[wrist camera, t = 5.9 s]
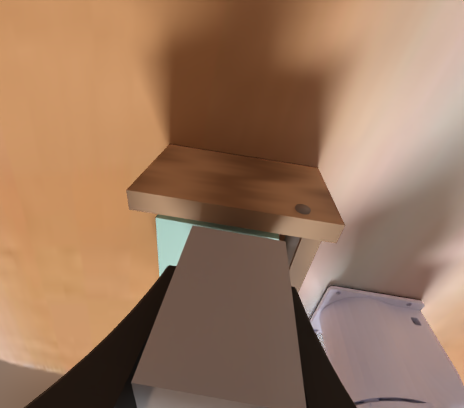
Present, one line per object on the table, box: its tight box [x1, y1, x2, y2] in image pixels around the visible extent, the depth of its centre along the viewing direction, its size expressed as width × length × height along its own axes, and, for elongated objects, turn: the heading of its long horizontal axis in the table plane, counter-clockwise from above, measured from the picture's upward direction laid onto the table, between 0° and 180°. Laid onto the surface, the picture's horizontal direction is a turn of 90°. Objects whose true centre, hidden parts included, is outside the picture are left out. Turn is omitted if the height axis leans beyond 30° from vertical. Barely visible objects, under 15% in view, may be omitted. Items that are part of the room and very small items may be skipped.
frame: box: [126, 144, 345, 292], centre depth 19 cm, size 11×14×7 cm
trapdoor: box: [156, 214, 279, 276], centre depth 16 cm, size 7×10×1 cm
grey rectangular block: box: [131, 225, 306, 408], centre depth 9 cm, size 4×4×6 cm
